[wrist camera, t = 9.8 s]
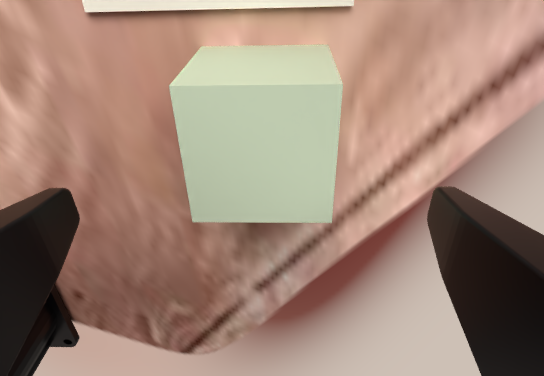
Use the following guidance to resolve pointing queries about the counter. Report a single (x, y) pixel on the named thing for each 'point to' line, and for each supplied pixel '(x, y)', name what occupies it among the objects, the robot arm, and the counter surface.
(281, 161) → the block
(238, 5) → the letter
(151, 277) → the counter surface
